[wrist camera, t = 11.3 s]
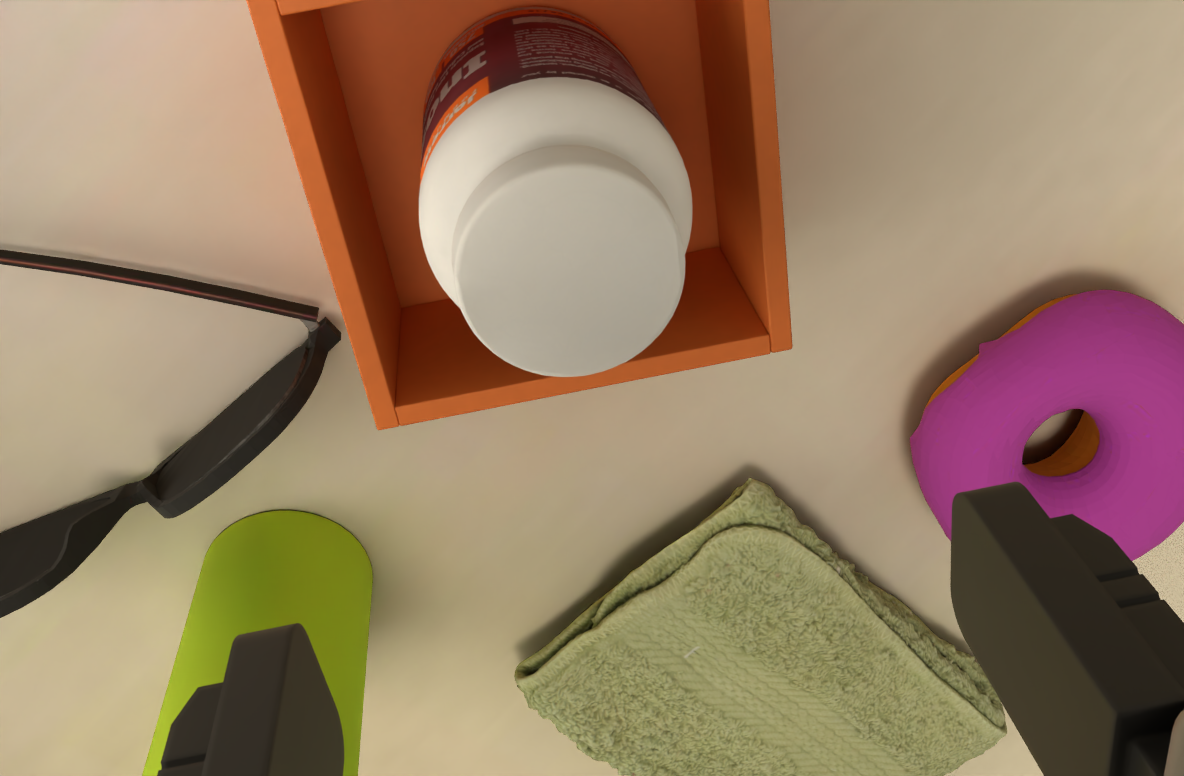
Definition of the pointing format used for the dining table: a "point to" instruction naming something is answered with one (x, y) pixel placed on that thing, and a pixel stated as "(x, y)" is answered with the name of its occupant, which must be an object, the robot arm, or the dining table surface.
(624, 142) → the pill bottle
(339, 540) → the soap dispenser
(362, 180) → the bin
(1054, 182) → the dining table surface
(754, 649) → the washcloth
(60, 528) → the sunglasses
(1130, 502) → the donut
